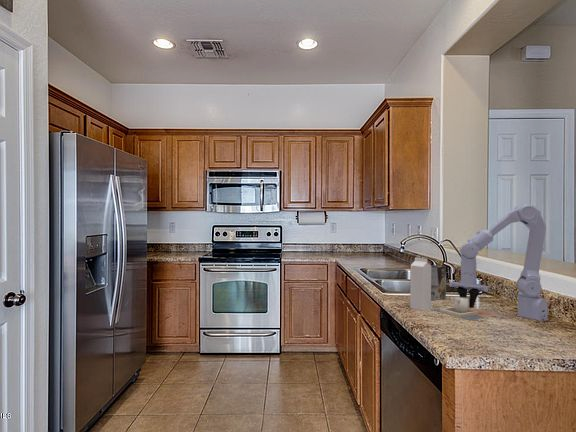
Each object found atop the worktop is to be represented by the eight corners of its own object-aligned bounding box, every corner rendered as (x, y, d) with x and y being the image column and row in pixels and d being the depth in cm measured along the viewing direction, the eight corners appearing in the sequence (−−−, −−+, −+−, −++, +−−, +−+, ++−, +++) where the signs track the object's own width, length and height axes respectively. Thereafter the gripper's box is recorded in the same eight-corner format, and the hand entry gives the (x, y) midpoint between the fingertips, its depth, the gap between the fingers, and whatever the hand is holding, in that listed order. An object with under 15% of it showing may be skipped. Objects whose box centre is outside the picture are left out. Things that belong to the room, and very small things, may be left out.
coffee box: (439, 302, 178) (440, 267, 178) (425, 300, 182) (426, 266, 183) (446, 299, 186) (446, 265, 186) (432, 297, 190) (432, 264, 190)
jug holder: (501, 317, 153) (501, 311, 153) (469, 323, 144) (469, 317, 144) (461, 307, 169) (461, 302, 169) (430, 312, 160) (430, 306, 160)
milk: (422, 313, 158) (423, 259, 158) (409, 310, 163) (410, 257, 163) (431, 311, 162) (431, 258, 162) (418, 308, 167) (419, 256, 167)
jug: (462, 315, 150) (462, 300, 150) (450, 313, 154) (450, 298, 154) (476, 312, 156) (476, 297, 156) (464, 309, 160) (464, 295, 160)
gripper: (491, 274, 155) (491, 308, 155) (454, 270, 165) (454, 302, 165) (484, 275, 150) (484, 311, 150) (447, 271, 160) (447, 304, 160)
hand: (468, 306), depth 157 cm, fingers closed on jug, 2 cm apart
